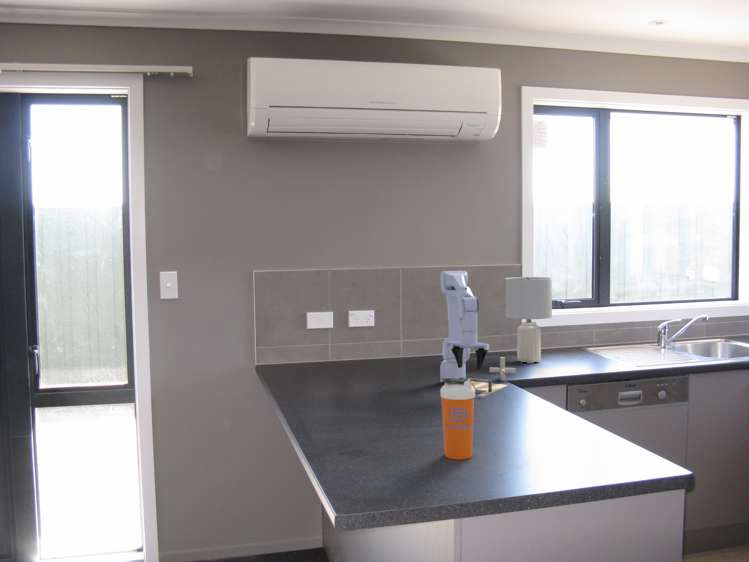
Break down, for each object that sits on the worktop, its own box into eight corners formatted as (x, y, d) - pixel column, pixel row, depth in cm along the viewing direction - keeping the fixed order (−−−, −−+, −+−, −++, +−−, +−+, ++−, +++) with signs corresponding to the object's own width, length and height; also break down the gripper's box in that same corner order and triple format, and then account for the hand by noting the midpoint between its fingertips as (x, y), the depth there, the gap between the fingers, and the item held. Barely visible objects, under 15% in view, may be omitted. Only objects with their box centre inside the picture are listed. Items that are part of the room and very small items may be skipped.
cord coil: (462, 396, 251) (461, 382, 251) (466, 394, 255) (466, 380, 254) (472, 397, 249) (472, 383, 249) (477, 395, 252) (476, 381, 252)
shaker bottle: (438, 451, 186) (437, 376, 185) (471, 449, 187) (470, 375, 185) (444, 461, 177) (443, 383, 176) (479, 460, 178) (478, 381, 177)
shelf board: (448, 395, 253) (447, 381, 253) (475, 384, 271) (474, 371, 271) (483, 399, 245) (483, 384, 245) (508, 388, 264) (508, 374, 263)
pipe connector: (515, 385, 268) (515, 359, 267) (489, 385, 270) (489, 359, 269) (515, 380, 277) (515, 355, 277) (490, 380, 279) (490, 355, 279)
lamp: (501, 359, 329) (500, 276, 327) (542, 357, 331) (542, 275, 329) (514, 366, 309) (513, 278, 307) (558, 364, 311) (558, 277, 309)
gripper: (445, 330, 251) (446, 368, 252) (483, 333, 243) (483, 372, 244) (455, 328, 257) (455, 365, 258) (491, 330, 249) (492, 368, 250)
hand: (469, 368), depth 251 cm, fingers open, 7 cm apart
